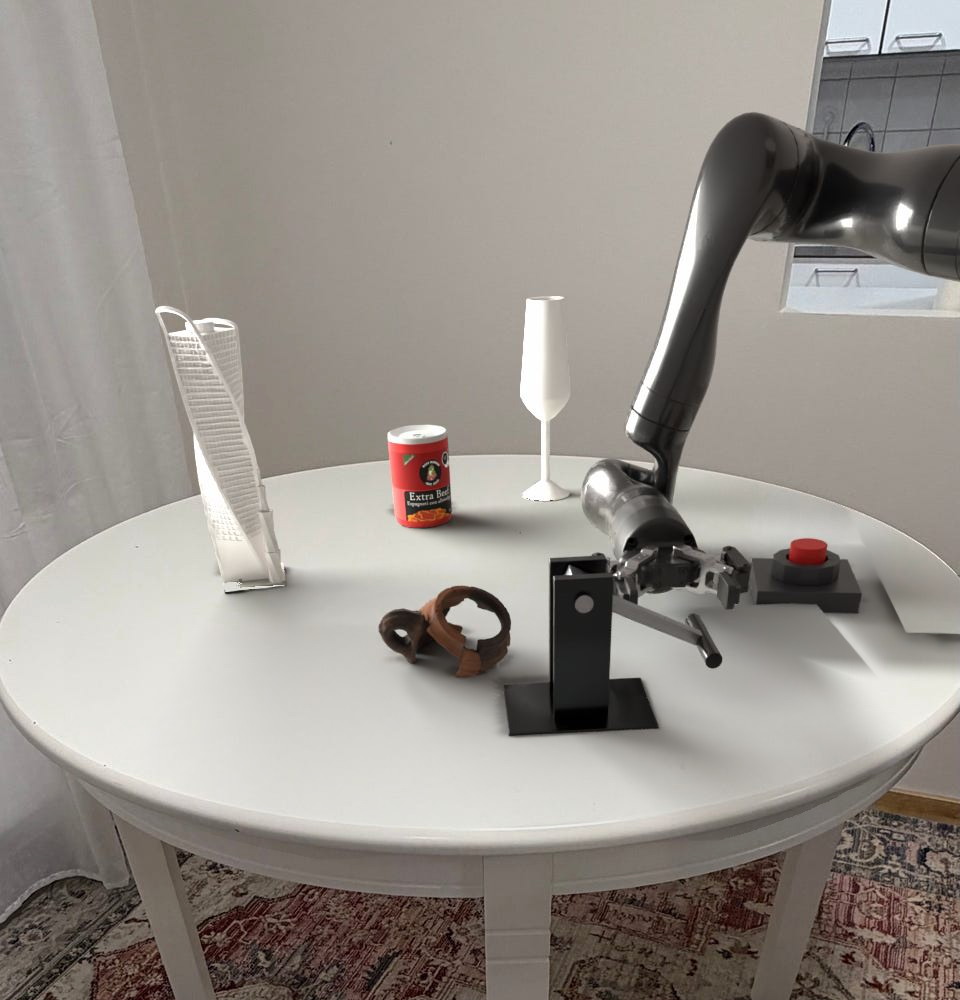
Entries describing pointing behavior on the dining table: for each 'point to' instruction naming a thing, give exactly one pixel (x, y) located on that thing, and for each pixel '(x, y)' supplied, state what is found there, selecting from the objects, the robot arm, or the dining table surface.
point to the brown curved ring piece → (448, 630)
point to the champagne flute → (545, 379)
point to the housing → (805, 583)
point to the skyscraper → (225, 451)
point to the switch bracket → (579, 663)
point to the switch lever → (667, 625)
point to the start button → (808, 551)
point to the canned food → (420, 475)
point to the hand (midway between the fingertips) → (682, 601)
